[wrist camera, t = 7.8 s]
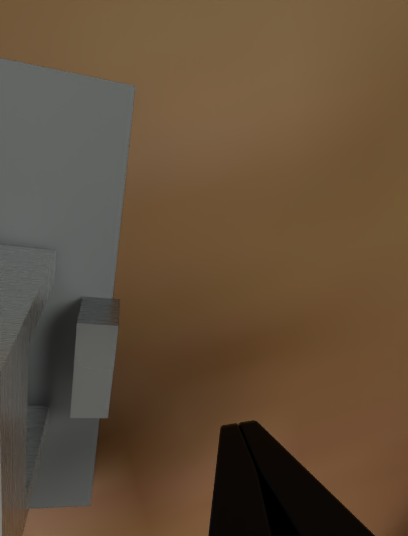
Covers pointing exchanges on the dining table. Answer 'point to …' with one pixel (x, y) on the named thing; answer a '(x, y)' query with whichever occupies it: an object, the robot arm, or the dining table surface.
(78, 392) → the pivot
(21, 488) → the grey rectangular block
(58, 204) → the board
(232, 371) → the dining table surface
